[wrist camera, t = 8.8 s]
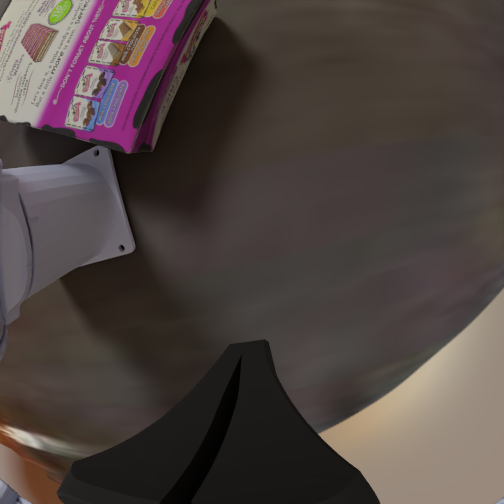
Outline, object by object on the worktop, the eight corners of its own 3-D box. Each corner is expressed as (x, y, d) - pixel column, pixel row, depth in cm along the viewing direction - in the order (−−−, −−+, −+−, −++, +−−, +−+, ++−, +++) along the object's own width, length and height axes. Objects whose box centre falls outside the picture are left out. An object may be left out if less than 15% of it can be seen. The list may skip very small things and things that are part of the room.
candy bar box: (219, 14, 14) (48, -2, 11) (217, -21, 10) (19, -21, 6) (154, 156, 17) (-2, 113, 14) (129, 158, 13) (-40, 113, 9)
